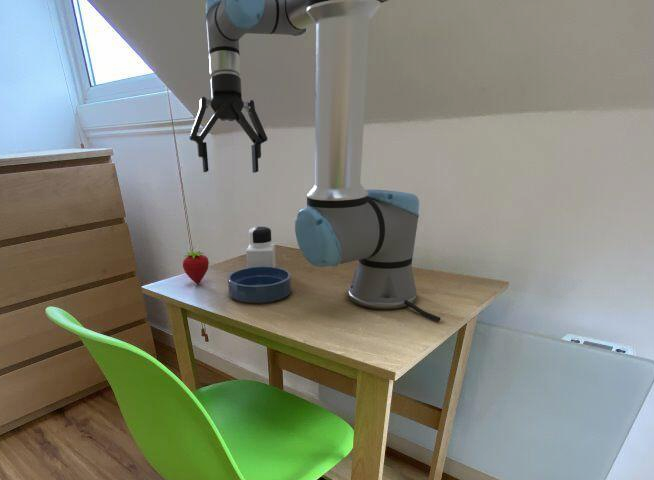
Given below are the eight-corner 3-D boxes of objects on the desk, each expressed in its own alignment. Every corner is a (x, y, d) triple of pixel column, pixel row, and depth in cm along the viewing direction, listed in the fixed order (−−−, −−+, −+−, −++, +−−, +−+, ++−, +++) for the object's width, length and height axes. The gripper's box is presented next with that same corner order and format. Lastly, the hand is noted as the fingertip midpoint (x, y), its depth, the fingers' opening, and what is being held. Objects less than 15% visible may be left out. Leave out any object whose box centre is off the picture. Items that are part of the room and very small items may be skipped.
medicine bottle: (275, 268, 124) (274, 224, 118) (273, 276, 118) (271, 230, 112) (251, 268, 125) (248, 225, 119) (247, 276, 119) (244, 231, 113)
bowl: (303, 293, 106) (303, 275, 104) (254, 310, 98) (253, 291, 96) (264, 279, 116) (263, 262, 114) (217, 294, 108) (215, 276, 106)
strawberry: (216, 281, 116) (212, 243, 111) (196, 290, 111) (191, 250, 106) (200, 278, 119) (195, 241, 114) (180, 286, 114) (174, 247, 109)
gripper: (267, 85, 115) (270, 173, 122) (172, 78, 107) (181, 173, 114) (277, 76, 108) (280, 170, 115) (177, 67, 100) (186, 169, 107)
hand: (231, 171), depth 114 cm, fingers open, 13 cm apart
